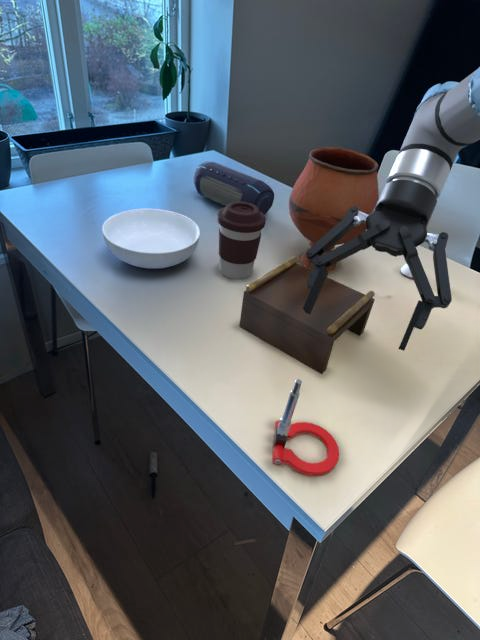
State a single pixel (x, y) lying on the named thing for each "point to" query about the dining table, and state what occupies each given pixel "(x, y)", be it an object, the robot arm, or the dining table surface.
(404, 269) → the white jar
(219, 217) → the coffee cup
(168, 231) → the serving bowl
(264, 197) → the portable speaker
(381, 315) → the dining table surface
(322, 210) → the goblet
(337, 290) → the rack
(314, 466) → the tow hook
